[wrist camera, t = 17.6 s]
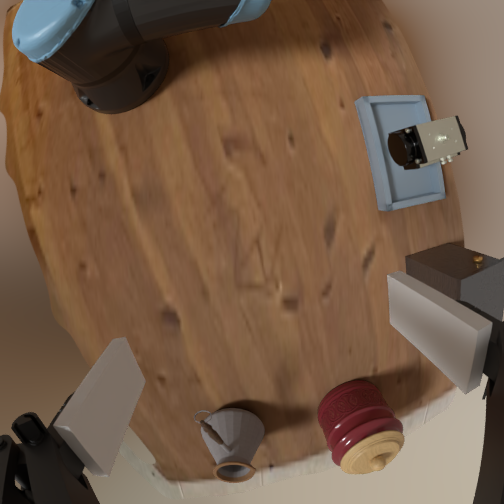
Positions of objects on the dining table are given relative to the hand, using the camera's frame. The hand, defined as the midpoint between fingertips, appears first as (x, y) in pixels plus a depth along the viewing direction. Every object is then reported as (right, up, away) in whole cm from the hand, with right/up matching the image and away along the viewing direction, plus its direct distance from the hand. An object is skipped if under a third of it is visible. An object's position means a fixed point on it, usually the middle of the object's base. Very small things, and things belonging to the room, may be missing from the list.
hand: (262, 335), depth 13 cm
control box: (+31, 0, +31) cm, 44 cm away
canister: (+18, -26, +36) cm, 48 cm away
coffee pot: (-5, -23, +34) cm, 41 cm away
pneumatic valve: (+23, +20, +26) cm, 40 cm away
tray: (+23, +20, +27) cm, 40 cm away
